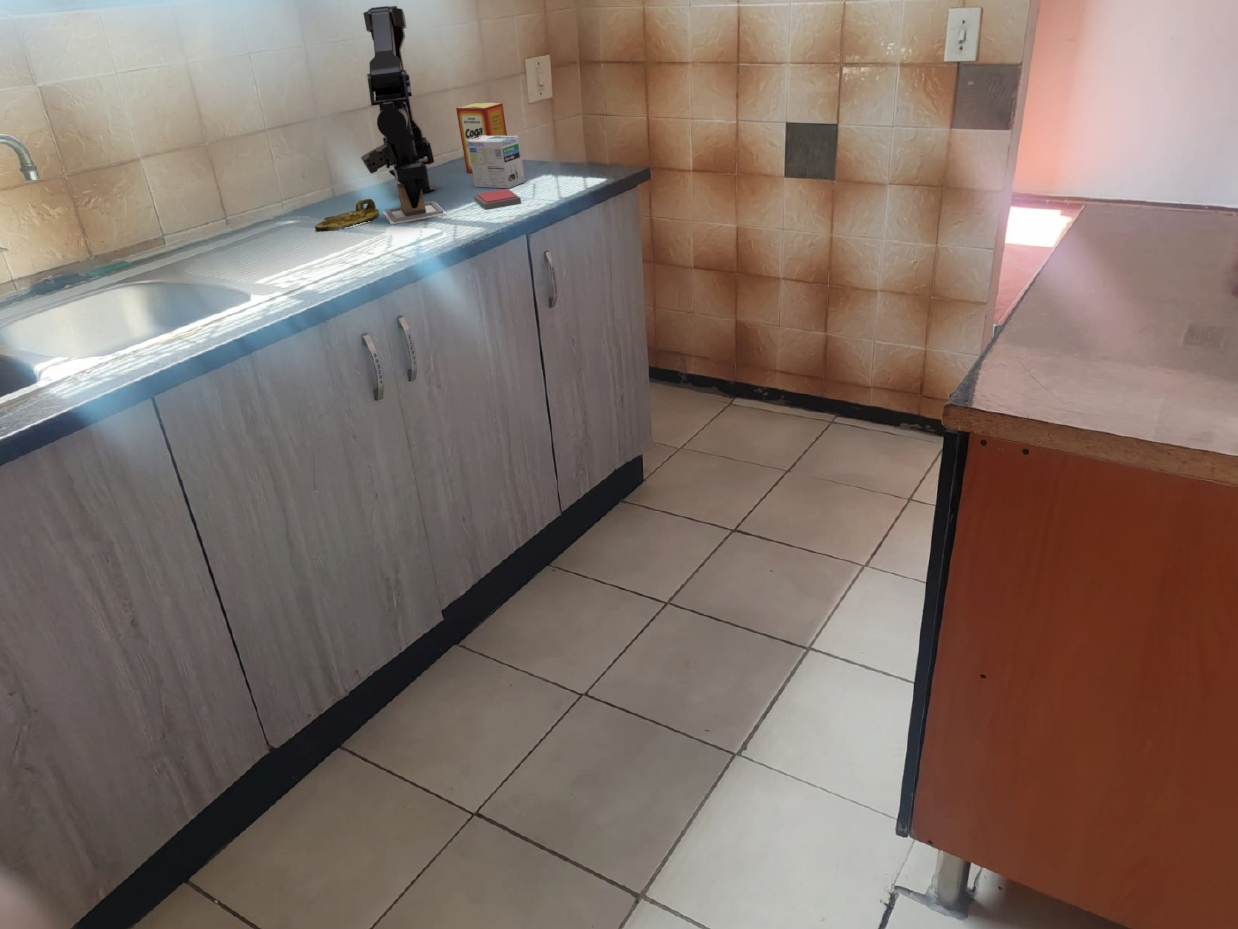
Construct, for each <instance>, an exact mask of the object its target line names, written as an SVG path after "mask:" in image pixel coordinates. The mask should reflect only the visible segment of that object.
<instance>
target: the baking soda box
mask: <svg viewBox="0 0 1238 929" xmlns="http://www.w3.org/2000/svg"><path fill="white" fill-rule="evenodd" d="M503 104H504V103H503V102H502V103H501V102H498V103H497V102H483V103H482V102H480V103H479V102H477V103H476V102H475V103H471V104H467V105H466V104H465V105H463V106H459V107H455V110H456V115H457V122H458V127H459V132H460V134H459V135H460V139H461V145H462V151H463V152H462V153H463V157H464V163H465V167H466V168H465V170H466V173H467V174H473V172H472V166H471V161H470V155H469V149H468V143H467V140H470V139H474V138H478V137H481V136H484V135H486V136H508V133H507V125H506V119H505V112H504V106H503Z"/></svg>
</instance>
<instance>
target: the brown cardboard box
mask: <svg viewBox="0 0 1238 929" xmlns="http://www.w3.org/2000/svg"><path fill="white" fill-rule="evenodd" d="M396 189H397V195H398V198H399V203H400V207H401V209H402V213H403V214H404V215H405V216H411V215H417V214H422V213H426V209H425V204H424V203H425V198H424V195H423V194H424V193H422V188H421V193H420V198H419V202H418V207H417V208H412V206H411V203H410V201H409V198H408V196H407V193H406V190H405V188H404V185H403V184H400V183H398V184H396Z"/></svg>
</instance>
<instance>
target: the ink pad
mask: <svg viewBox="0 0 1238 929" xmlns="http://www.w3.org/2000/svg"><path fill="white" fill-rule="evenodd" d="M473 198H474V202H476V203H477V204H478V205H479V206H480V207H482V208H483V209H484V210H491V209H496V208H497V209H498V208H502V207H506V206H507V207H508V206H514V205H518V204H522V199H521V197H520V196H519V195H517V194H516V193H514V192H513V191H512V190H510V188H502V189H498V190H491V191H487V192H481V193H477V194H475V195H473Z"/></svg>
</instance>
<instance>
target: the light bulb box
mask: <svg viewBox="0 0 1238 929" xmlns="http://www.w3.org/2000/svg"><path fill="white" fill-rule="evenodd" d="M519 139H520V137H519V135H507V136H486V135H484V136H481V137H478V138H474V139H470V140H467V143H468V149H469V155H470V161H471V166H472V172H473V173H472V177H473V183H474V187H475V188H490V189H491V188H494V189H511V188H513V187H515V186H519V185H521V184H523V183H526V179H525V173H524V166H523V165H524V164H523V159H522V152H521V144H520V140H519Z"/></svg>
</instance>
